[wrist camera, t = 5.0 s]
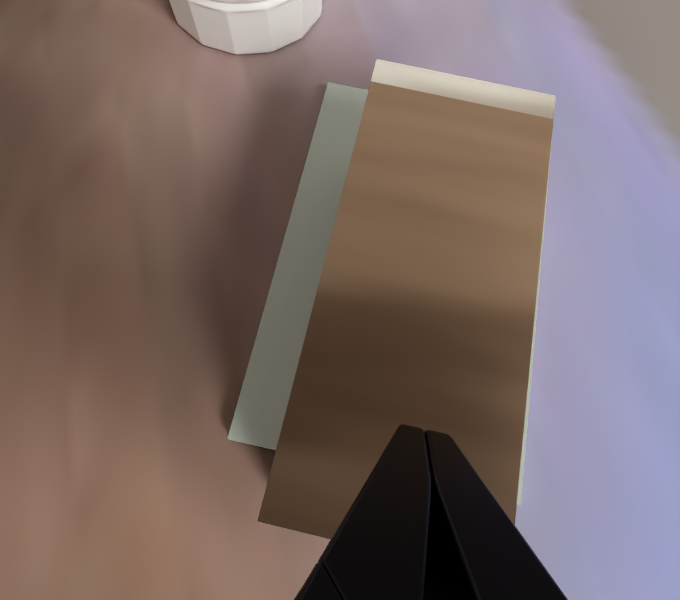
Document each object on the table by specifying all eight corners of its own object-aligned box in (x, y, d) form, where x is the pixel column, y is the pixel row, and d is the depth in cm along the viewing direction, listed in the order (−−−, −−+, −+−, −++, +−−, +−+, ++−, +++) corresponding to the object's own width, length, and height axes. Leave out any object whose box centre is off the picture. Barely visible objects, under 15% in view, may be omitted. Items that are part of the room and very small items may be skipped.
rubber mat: (513, 504, 15) (520, 505, 15) (230, 440, 15) (227, 438, 15) (545, 137, 20) (552, 127, 19) (327, 92, 20) (328, 82, 20)
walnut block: (508, 582, 9) (555, 95, 13) (257, 521, 10) (376, 58, 14) (446, 545, 14) (494, 193, 18) (277, 505, 14) (362, 165, 18)
